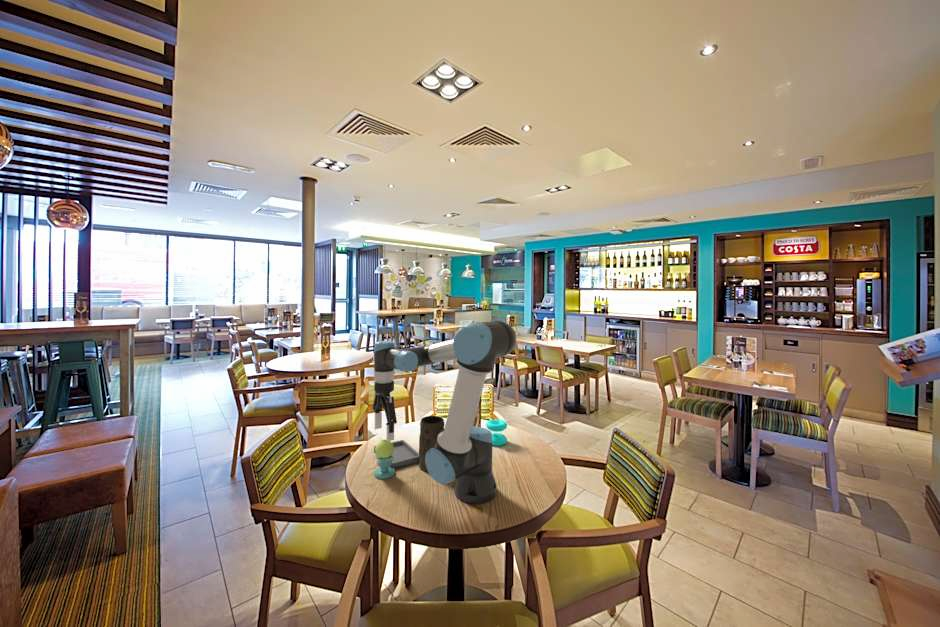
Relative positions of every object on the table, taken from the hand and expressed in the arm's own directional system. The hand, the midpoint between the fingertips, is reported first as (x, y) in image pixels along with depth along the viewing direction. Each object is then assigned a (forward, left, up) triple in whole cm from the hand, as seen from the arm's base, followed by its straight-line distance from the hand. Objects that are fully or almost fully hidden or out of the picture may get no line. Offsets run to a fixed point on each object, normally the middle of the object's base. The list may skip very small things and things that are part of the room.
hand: (384, 434), depth 144 cm
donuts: (+1, -56, -16) cm, 58 cm away
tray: (+12, -10, -16) cm, 22 cm away
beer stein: (-6, -20, -16) cm, 27 cm away
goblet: (0, 0, -16) cm, 16 cm away
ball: (0, 0, -6) cm, 6 cm away
